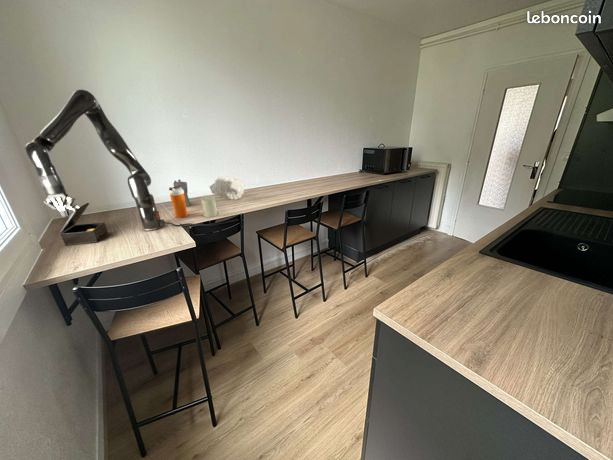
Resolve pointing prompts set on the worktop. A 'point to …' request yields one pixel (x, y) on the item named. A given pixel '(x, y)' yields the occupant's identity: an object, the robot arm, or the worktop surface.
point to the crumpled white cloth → (227, 187)
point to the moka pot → (184, 187)
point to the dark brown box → (84, 234)
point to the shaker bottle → (178, 201)
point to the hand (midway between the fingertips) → (66, 216)
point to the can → (209, 206)
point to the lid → (74, 216)
